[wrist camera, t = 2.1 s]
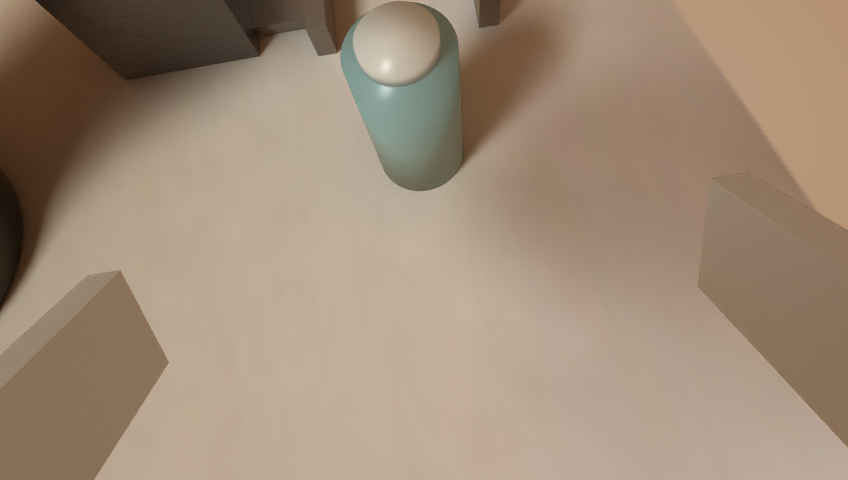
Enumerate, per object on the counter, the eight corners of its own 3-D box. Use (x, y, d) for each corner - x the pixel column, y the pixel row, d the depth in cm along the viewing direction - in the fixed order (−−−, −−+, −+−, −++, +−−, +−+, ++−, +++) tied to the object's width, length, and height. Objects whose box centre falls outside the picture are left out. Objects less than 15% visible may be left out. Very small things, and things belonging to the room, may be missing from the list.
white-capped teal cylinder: (369, 179, 28) (317, 76, 19) (395, 107, 29) (359, -23, 20) (449, 200, 27) (436, 103, 18) (473, 125, 29) (472, -2, 19)
